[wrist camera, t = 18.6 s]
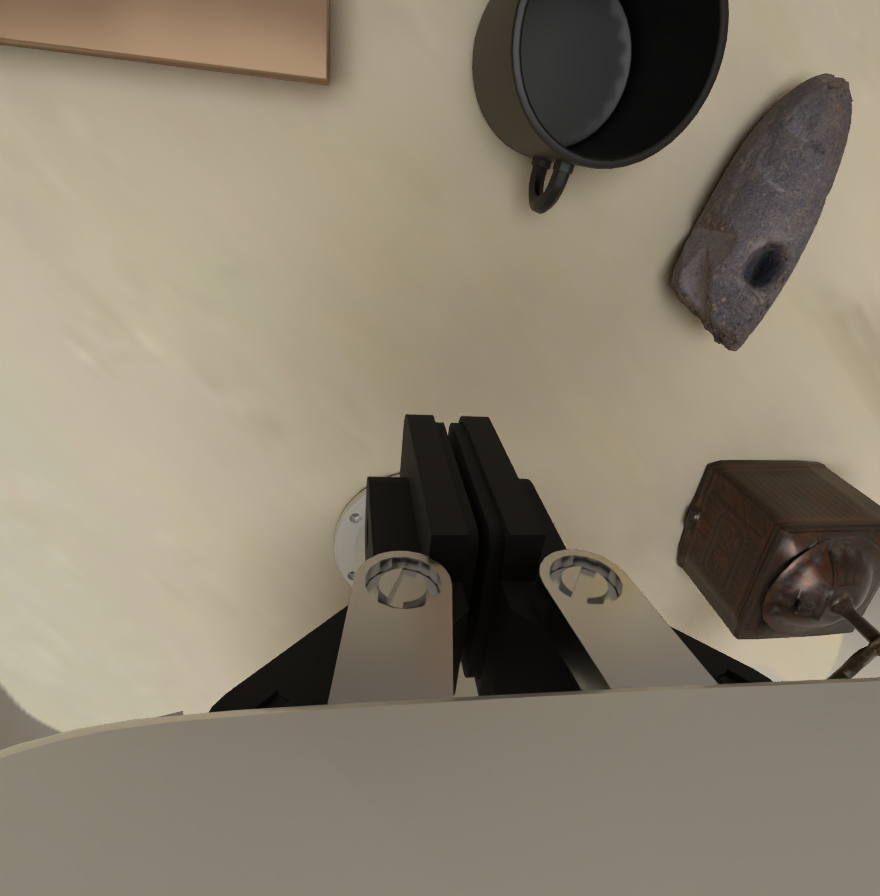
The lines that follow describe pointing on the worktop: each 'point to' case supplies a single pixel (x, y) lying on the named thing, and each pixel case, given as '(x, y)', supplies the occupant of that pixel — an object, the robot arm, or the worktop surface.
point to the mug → (594, 79)
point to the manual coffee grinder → (785, 552)
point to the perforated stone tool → (764, 210)
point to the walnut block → (182, 33)
